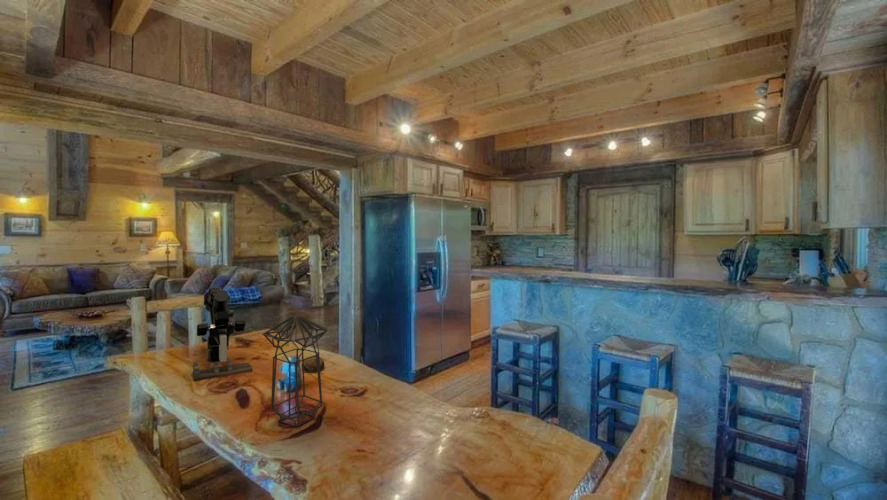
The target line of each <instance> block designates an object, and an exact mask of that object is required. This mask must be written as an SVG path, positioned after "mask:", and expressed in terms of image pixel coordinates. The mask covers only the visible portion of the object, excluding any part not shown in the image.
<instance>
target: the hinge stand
mask: <svg viewBox="0 0 887 500" xmlns="http://www.w3.org/2000/svg"><path fill="white" fill-rule="evenodd" d="M218 362H219V361H217V362H212V363H213V366H212V368H205V369H200V367H199V363H198V361H193V362H192V376H193V381H194V382H197V381H203V380H208V379H215V377H216V378H221V377H220V376H222V377H226V375H228V376H232V374H233V375H239V374H242V373H243V374H245V373H251V372H253V368H252V366H251V364H250V363H249V362H243V363H236V364H233V362H232V360H227V361H226V365H225V366H220V365H219V363H218ZM244 372H245V373H244ZM238 373H239V374H238Z"/></svg>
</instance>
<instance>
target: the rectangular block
mask: <svg viewBox="0 0 887 500" xmlns="http://www.w3.org/2000/svg"><path fill="white" fill-rule="evenodd" d="M219 338H220V345H219V360H220V361H219V363H224V362H227V361H228V358H227V357H228V353H227V351H228V350H230V348H229V346H228V347H227V336H226V334H220V335H219Z"/></svg>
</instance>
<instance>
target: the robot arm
mask: <svg viewBox="0 0 887 500" xmlns="http://www.w3.org/2000/svg"><path fill="white" fill-rule="evenodd" d="M230 299H231V296H230V295H229V293H227V291H225V290H224V289H221V287H211V288H208V291H207V292H206V293H205V294H204V295H203V305H204V306H205V310H206V311H208V312H209V317H210V318H209V319H210V325H209V324H208V322H207V323H198V324H197V325H196V336H197V337H203V336H206V335H208V336H207V339H206V347H207V350H208V351H207V361H209V362H212V363H217V362H220V360H219V345H220V338H219V335H220V334H226V336H227V347H229V346H230V344H229V343H230V336H231V335H233V334H234V332H236V333H237V332H239V333H240V332H244V331H245V327H246V320H244V319H238V320H237V319H236V320H235V321H234V323H230V319H231V318H234V310H233V309H228V308H227V306H228V303H229V300H230Z"/></svg>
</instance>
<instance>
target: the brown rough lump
mask: <svg viewBox="0 0 887 500" xmlns="http://www.w3.org/2000/svg"><path fill="white" fill-rule="evenodd" d="M311 356H312V355H311ZM311 356H310V355H309V356H308V357H305V358H304V359H306V358H309V357H311ZM319 359H320V372H321V371H323V370H324V368H325V362H324V358H322V357H320V356H319ZM301 367H302V364H301ZM304 373H317V363H316V356H315V357H312V358H309V359H306V360H304Z"/></svg>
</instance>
